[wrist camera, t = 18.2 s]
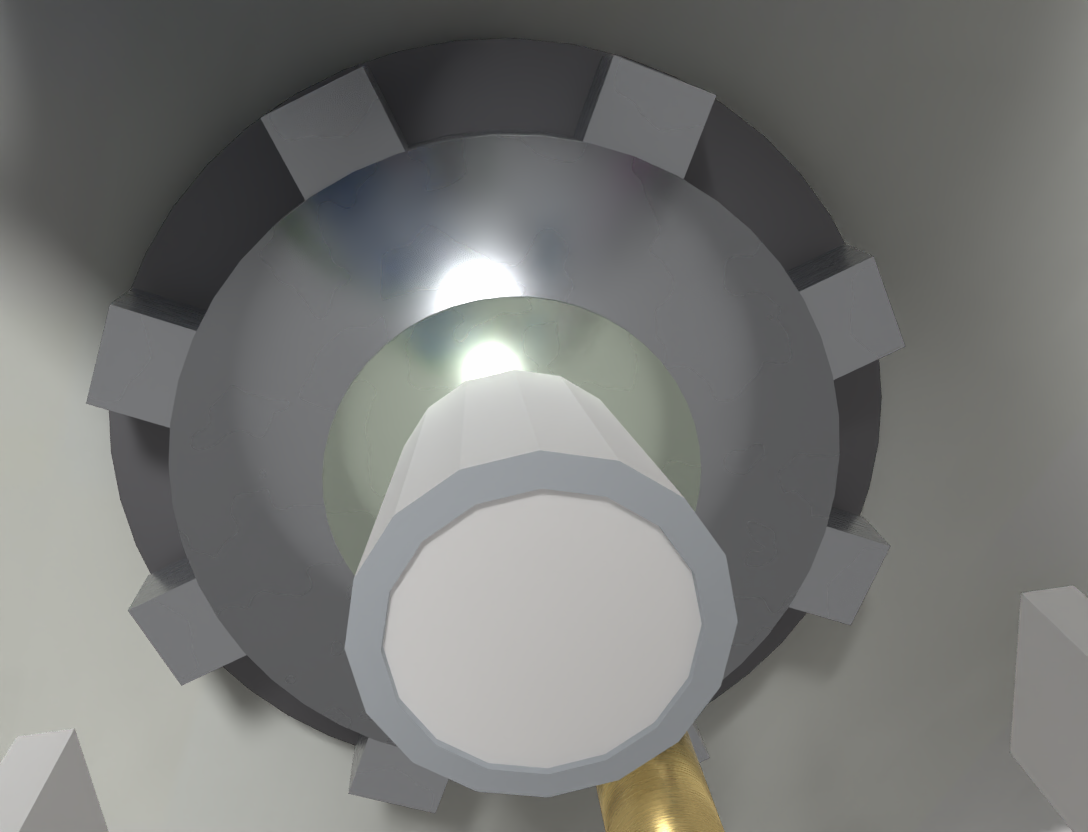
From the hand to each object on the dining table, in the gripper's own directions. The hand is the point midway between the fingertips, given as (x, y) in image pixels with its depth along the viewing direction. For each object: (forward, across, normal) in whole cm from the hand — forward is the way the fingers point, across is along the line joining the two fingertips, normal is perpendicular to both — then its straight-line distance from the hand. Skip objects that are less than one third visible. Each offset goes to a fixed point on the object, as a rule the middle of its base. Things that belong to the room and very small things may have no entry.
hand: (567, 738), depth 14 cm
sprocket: (+13, 0, -1) cm, 13 cm away
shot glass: (+11, 0, -1) cm, 11 cm away
